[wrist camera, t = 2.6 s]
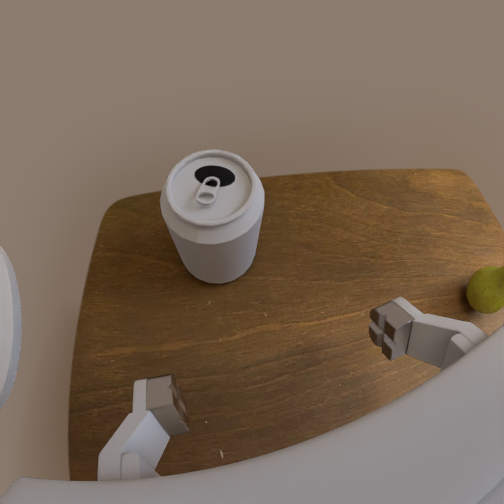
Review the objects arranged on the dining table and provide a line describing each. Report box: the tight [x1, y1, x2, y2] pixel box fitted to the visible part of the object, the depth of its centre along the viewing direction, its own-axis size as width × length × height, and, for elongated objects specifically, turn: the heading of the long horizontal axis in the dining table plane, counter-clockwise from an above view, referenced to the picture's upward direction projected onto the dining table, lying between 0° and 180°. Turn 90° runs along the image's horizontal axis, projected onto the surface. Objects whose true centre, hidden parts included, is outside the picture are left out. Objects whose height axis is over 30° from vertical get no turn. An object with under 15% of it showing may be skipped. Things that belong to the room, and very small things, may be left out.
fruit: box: [467, 266, 504, 314], centre depth 25 cm, size 6×6×12 cm
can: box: [160, 150, 264, 284], centre depth 25 cm, size 8×8×12 cm
